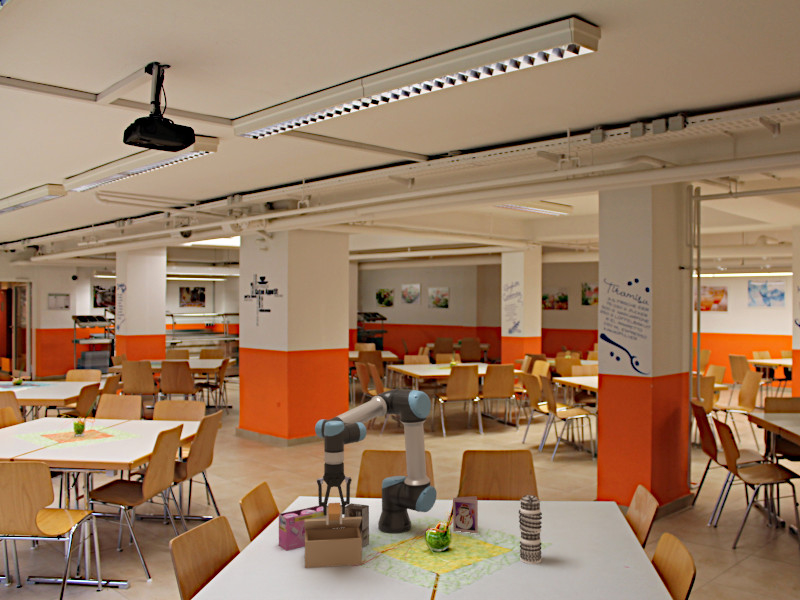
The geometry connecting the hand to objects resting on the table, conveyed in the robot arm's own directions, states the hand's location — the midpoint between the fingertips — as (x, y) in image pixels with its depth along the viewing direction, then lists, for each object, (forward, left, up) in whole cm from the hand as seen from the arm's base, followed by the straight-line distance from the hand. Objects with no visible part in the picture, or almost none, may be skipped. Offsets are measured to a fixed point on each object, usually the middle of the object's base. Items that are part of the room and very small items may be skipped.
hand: (334, 523), depth 244 cm
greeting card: (-62, -36, -18) cm, 74 cm away
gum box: (+10, -33, -18) cm, 39 cm away
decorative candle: (-78, +2, -18) cm, 80 cm away
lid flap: (0, -7, -2) cm, 7 cm away
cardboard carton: (0, -11, -18) cm, 21 cm away
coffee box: (-11, -27, -18) cm, 35 cm away
